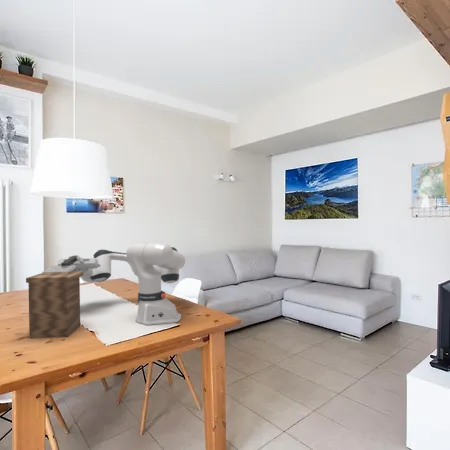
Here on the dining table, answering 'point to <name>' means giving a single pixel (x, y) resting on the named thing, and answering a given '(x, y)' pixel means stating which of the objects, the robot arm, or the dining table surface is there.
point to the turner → (61, 267)
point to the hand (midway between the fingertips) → (73, 257)
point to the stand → (54, 304)
